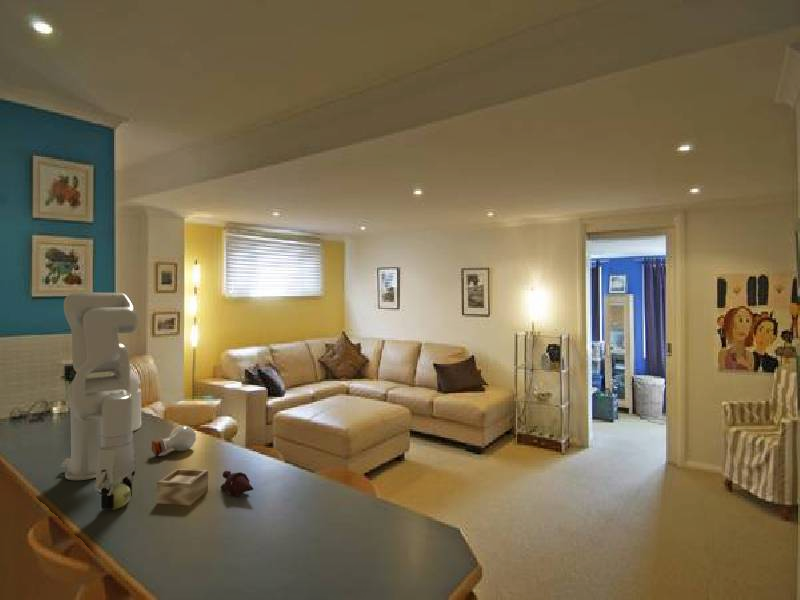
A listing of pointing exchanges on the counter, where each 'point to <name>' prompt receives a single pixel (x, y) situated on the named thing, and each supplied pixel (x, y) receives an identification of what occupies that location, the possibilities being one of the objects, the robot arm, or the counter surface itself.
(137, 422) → the bottle
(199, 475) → the wooden box
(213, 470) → the counter surface
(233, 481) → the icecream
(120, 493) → the tennis ball
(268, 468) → the counter surface
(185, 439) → the potion bottle
